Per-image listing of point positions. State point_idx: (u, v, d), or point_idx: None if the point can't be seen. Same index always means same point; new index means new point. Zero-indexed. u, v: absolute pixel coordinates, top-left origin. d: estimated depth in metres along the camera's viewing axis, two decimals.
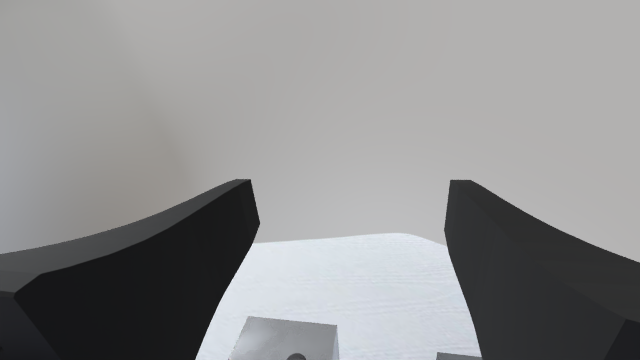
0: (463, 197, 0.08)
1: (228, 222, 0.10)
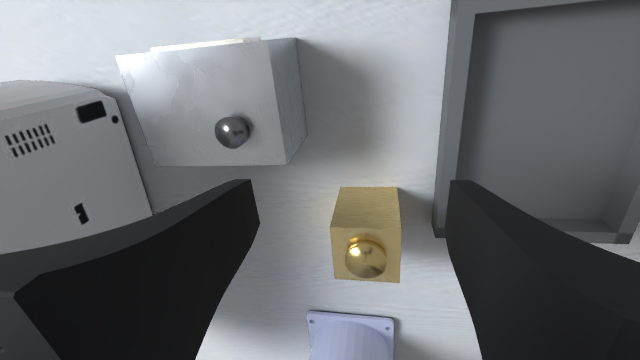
0: (463, 197, 0.08)
1: (228, 222, 0.10)
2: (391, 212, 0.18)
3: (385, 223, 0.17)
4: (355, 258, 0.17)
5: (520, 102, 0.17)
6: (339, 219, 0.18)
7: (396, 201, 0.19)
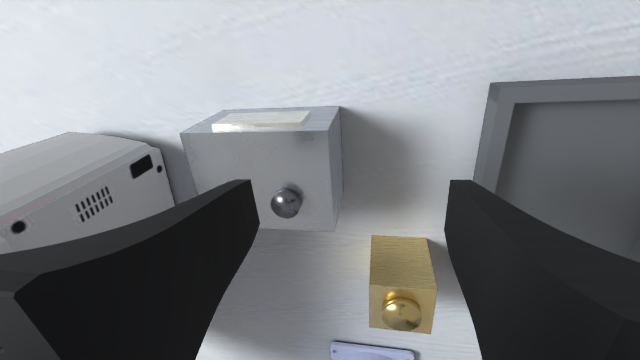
0: (463, 197, 0.08)
1: (228, 222, 0.10)
2: (425, 269, 0.19)
3: (421, 282, 0.18)
4: (392, 313, 0.18)
5: (548, 173, 0.18)
6: (376, 275, 0.19)
7: (428, 255, 0.20)
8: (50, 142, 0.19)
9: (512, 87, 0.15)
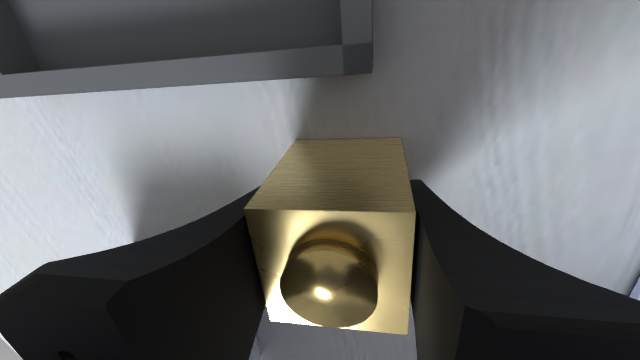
0: None
1: None
2: None
3: None
4: (317, 309, 0.07)
5: None
6: None
7: None
8: None
9: None
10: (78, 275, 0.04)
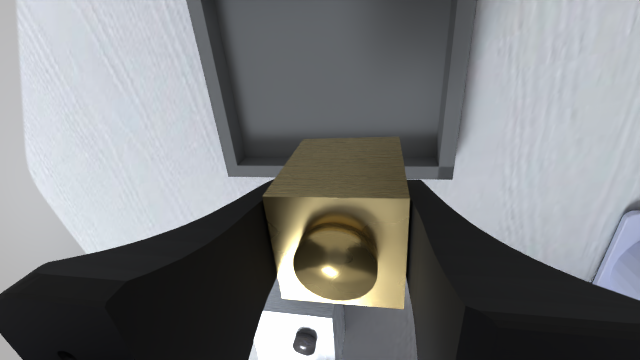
0: None
1: None
2: None
3: None
4: (325, 283, 0.09)
5: (306, 107, 0.18)
6: None
7: None
8: None
9: (227, 167, 0.19)
10: (76, 275, 0.04)
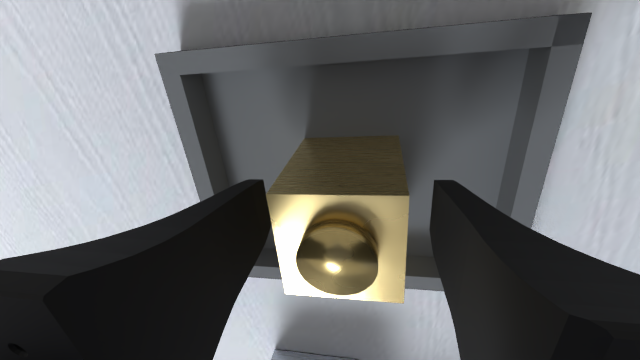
0: (444, 197, 0.08)
1: (242, 223, 0.09)
2: None
3: None
4: (327, 279, 0.09)
5: None
6: None
7: None
8: None
9: None
10: (24, 271, 0.04)
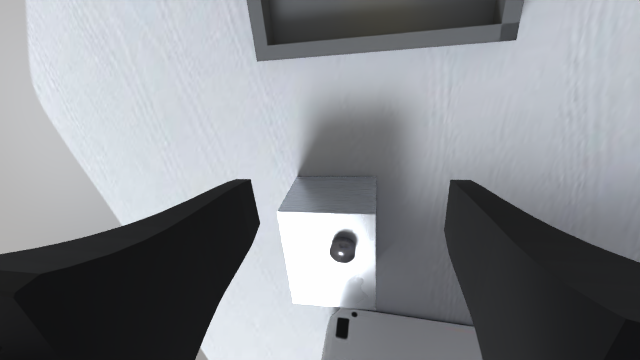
0: (463, 197, 0.08)
1: (228, 222, 0.10)
2: None
3: None
4: None
5: None
6: None
7: None
8: None
9: (256, 50, 0.17)
10: None
